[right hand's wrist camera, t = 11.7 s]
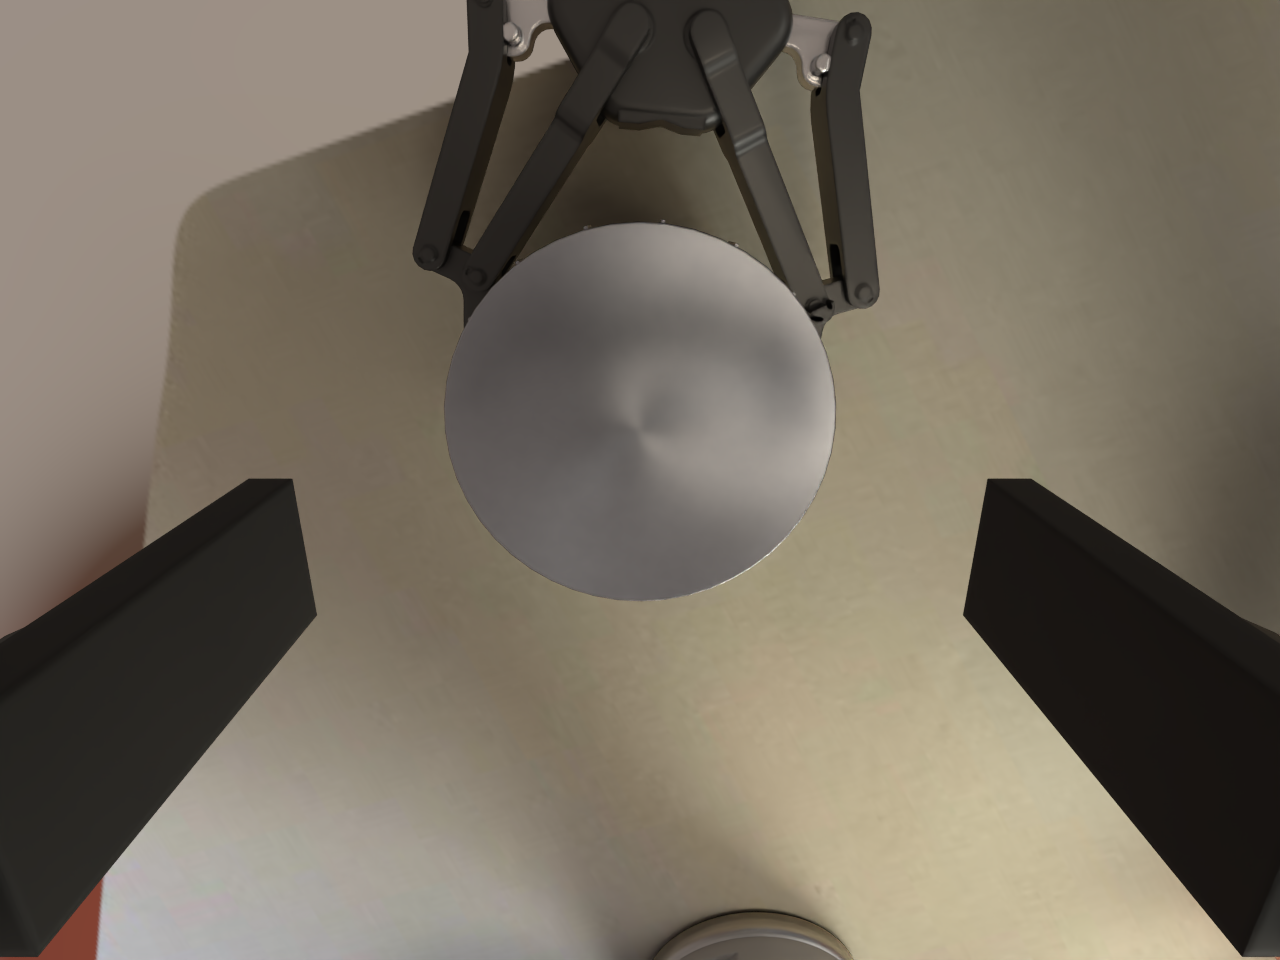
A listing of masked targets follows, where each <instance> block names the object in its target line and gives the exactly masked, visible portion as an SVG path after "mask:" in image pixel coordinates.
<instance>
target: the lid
mask: <svg viewBox="0 0 1280 960" xmlns="http://www.w3.org/2000/svg"><path fill="white" fill-rule="evenodd" d="M583 228H584V230H582V231H579V232H576V233H574V234H571V235H568V236H566V237H563V238H560V239H558V240H556V241H554V242H552V243H550V244H548V245H546V246H544V247H543V248H541V249H539V250H537V251H535V252H533V253H532V254H530V255H529V256H528V257H526V258H524V259H521V260H518V261H516V262H515V264H516V266H514V267H513V268H511V269H510V270H509V271H508V272H507V273H506V274H505V275H504V276H503V277H502V278H501V279H500V280H499V281H498V282H497V283H496V284H495V285H494V286H493V287H492V288H491V289H490V290H489V292H488V293H487V294H486V296H485V297H484V298H483V300H482V301H481V302H480V303H479V305H478V306H477V307H476V309H475V310H474V312H473V314H472V316H470V317H469V318H468V323H467V324H466V326H465V328H464V330H463V331H462V334H461V336H460V339H459V341H458V344H457V346H456V349H455V352H454V354H453V357H452V361H451V365H450V369H449V374H448V378H447V383H446V393H445V403H444V413H445V433H446V438H447V444H448V450H449V455H450V458H451V462H452V465H453V468H454V471H455V474H456V477H457V480H458V482H459V484H460V486H461V488H462V491H463V493H464V495H465V497H466V499H467V501H468V503H469V504H470V506H471V507H472V509H473V510H474V512H475V514H476V515H477V517H478V518H479V520H480V521H481V523H482V524H483V525H484V526H485V527H486V529H487V530H488V531H489V532H490V533H491V535H492V536H493V537H494V538H495V539H496V540H497V541H498V542H499V543H500V544H501V545H502V546H503V547H504V548H505V549H506V550H507V551H508V552H509V553H510V554H512V555H513V556H514V557H515V558H517V559H518V560H519V561H521V562H522V563H524V564H525V565H526V566H528V567H529V568H530V569H532V570H534V571H535V572H537V573H539V574H541V575H542V576H544V577H546V578H548V579H549V580H551V581H554V582H556V583H558V584H561V585H563V586H565V587H568V588H570V589H573V590H576V591H579V592H583V593H586V594H590V595H593V596H598V597H604V598H609V599H615V600H629V601H652V600H666V599H671V598H677V597H682V596H688V595H691V594H694V593H698V592H701V591H704V590H707V589H710V588H713V587H715V586H717V585H720V584H722V583H724V582H726V581H729V580H731V579H733V578H735V577H736V576H738V575H740V574H741V573H743V572H745V571H746V570H748V569H750V568H752V567H753V566H754V565H756V564H757V563H758V562H759V561H761V560H762V559H763V558H765V557H766V556H767V555H769V554H770V553H771V552H772V551H773V550H774V549H775V548H776V547H777V546H778V545H779V544H780V543H781V542H782V541H783V540H784V539H785V538H787V536H788V535H789V534H790V533H791V531H792V530H793V529H794V528H795V526H796V525H797V524H798V523H799V521H800V520H801V519H802V518H803V516H804V514H805V513H806V511H807V509H808V508H809V506H810V504H811V503H812V501H813V500H814V498H815V496H816V494H817V491H818V489H819V487H820V485H821V482H822V480H823V478H824V476H825V472H826V469H827V466H828V462H829V459H830V456H831V452H832V446H833V440H834V434H835V423H836V399H835V390H834V381H833V376H832V372H831V368H830V364H829V360H828V356H827V353H826V350H825V348H824V345H823V343H822V341H821V338H820V336H819V333H818V331H817V329H816V327H815V325H814V324H813V322H812V320H811V319H810V317H809V315H808V313H807V312H806V310H805V308H804V307H803V305H802V304H801V303H800V302H799V300H798V299H797V298H796V297H795V295H796V293H795V292H794V291H792V290H790V289H789V288H788V286H787V285H786V284H785V283H784V282H782V281H781V280H780V279H779V278H778V277H777V276H776V275H775V274H774V273H773V272H772V271H771V270H770V269H769V268H768V267H766V266H765V265H764V264H762V263H761V262H759V261H758V260H757V259H755V258H754V257H752V256H751V255H750V254H748V253H747V252H745V251H744V250H742V249H740V248H738V246H739V244H737V243H734V242H730V241H728V242H726V241H724V240H723V239H721V238H718V237H715V236H712V235H709V234H707V233H704V232H701V231H698V230H695V229H691V228H686V227H681V226H676V225H672V224H667V223H665V220H660V221H659V223H654V222H626V223H614V224H608V225H604V226H599V227H594V228H592V227H591V225H588V226H584V227H583Z"/></svg>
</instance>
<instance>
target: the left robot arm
mask: <svg viewBox="0 0 1280 960" xmlns="http://www.w3.org/2000/svg"><path fill="white" fill-rule="evenodd" d="M467 20H468V46H469V53H468V56H467V60H466V63H465V67H464V70H463V74H462V77H461V81H460V84H459V88H458V91H457V95H456V99H455V102H454V106H453V109H452V113H451V116H450V120H449V123H448V127H447V130H446V134H445V137H444V141H443V144H442V148H441V151H440V155H439V158H438V162H437V165H436V169H435V172H434V176H433V179H432V183H431V186H430V190H429V194H428V197H427V201H426V204H425V208H424V211H423V215H422V218H421V222H420V225H419V229H418V232H417V236H416V239H415V243H414V246H413V257H414V261H415V262H416V263H417V265H418V266H419V267H421V268H422V269H424V270H429V271H434V272H436V273H438V274H440V275H442V276H445V277H447V278H449V279H451V280H452V281H454V282H455V283H456V284H457V285H458V286H459V287H460V289H461V290H462V293H463V298H464V328H465V326H466V324H467V323H468V318H469V317H470V316H472V314H473V312H474V310H475V309H476V307H477V306H478V305H479V303H480V302H481V301H482V300H483V298H484V297H485V296H486V294H487V293H488V292H489V290H490V289H491V288H492V287H493V286H494V285H495V284H496V283H497V282H498V281H499V280H500V279H501V278H502V277H503V276H504V275H505V274H506V273H507V272H508V271H509V269H510V268H511V266H512V265H513V263H514V261H515V260H516V258H517V257H518V255H519V254H520V252H521V250H522V249H523V247H524V246H525V244H526V243H527V241H528V239H529V238H530V236H531V235H532V233H533V232H534V230H535V228H536V227H537V225H538V224H539V222H540V221H541V219H542V217H543V216H544V214H545V213H546V211H547V210H548V208H549V206H550V205H551V203H552V202H553V200H554V199H555V197H556V195H557V194H558V192H559V191H560V189H561V188H562V186H563V184H564V183H565V181H566V180H567V178H568V177H569V175H570V173H571V172H572V170H573V169H574V167H575V166H576V164H577V162H578V161H579V159H580V158H581V156H582V155H583V153H584V151H585V150H586V148H587V147H588V146H589V145H590V144H591V142H592V141H593V140H594V138H595V137H596V135H597V134H598V132H599V131H600V129H601V127H602V126H603V124H604V123H605V121H606V120H609V121H610V122H612V123H613V124H616V125H618V126H619V129H630V130H644V129H649V128H654V127H663V128H666V129H668V130H671V131H673V132H676V133H678V134H682V135H693V136H700V135H701V134H702V133H707V132H709V131H712V130H714V133H715V135H716V138H717V140H718V142H719V145H720V147H721V150H722V152H723V154H724V156H725V157H726V159H727V160H728V162H729V165H730V167H731V169H732V172H733V174H734V177H735V179H736V182H737V184H738V187H739V189H740V191H741V194H742V196H743V199H744V201H745V204H746V206H747V208H748V211H749V213H750V216H751V218H752V221H753V223H754V226H755V228H756V230H757V233H758V235H759V238H760V240H761V243H762V245H763V247H764V250H765V252H766V255H767V257H768V260H769V262H770V265H771V267H772V269H773V272H774V274H775V275H776V276H777V277H778V278H779V279H780V280H781V281H782V282H784V283H785V284H786V285H787V286H788V288H789V289H790V290H792V291H794V292H795V293H796V295H795V297H796V298H797V299H798V300H799V302H800V303H801V304H802V305H803V307H804V308H805V310H806V312H807V313H808V315H809V317H810V319H811V320H812V322H813V324H814V325H815V327H816V329H817V331H818V333H819V336H820V338H821V336H822V331H823V327H824V325H825V323H826V322H827V321H829V320H830V319H831V317H832V316H834V315H836V314H838V313H842V312H845V311H849V310H853V309H857V308H859V309H866V308H868V307H870V306H872V305H873V304H874V303H875V302H876V301H877V299H878V297H879V291H880V288H879V278H878V268H877V258H876V248H875V238H874V229H873V219H872V209H871V199H870V189H869V179H868V169H867V159H866V149H865V139H864V129H863V119H862V109H861V100H860V86H861V81H862V77H863V72H864V67H865V63H866V58H867V53H868V48H869V44H870V39H871V30H872V27H871V24H870V21H869V19H868V18H867V17H866V16H865V15H864V14H861V13H859V12H854V13H850V14H848V15H846V16H844V17H843V18H842V19H841V20H840V21H834V20H828V19H821V18H815V17H808V16H802V15H795V14H792V9H791V6H790V3H789V0H467ZM547 29H554V31H555V33H556V35H557V37H558V39H559V41H560V42H561V44H562V46H563V48H564V50H565V52H566V53H567V55H568V57H569V59H570V61H571V62H572V64H573V66H574V68H575V70H576V71H577V73H578V76H577V78H576V79H575V81H574V82H573V84H572V86H571V87H570V89H569V91H568V92H567V94H566V96H565V97H564V99H563V100H562V102H561V104H560V106H559V107H558V110H557V112H556V114H555V117H554V119H553V121H552V123H551V125H550V126H549V128H548V130H547V131H546V133H545V134H544V136H543V138H542V139H541V141H540V143H539V144H538V146H537V147H536V149H535V151H534V152H533V154H532V156H531V157H530V159H529V160H528V162H527V164H526V165H525V167H524V169H523V170H522V172H521V173H520V175H519V177H518V178H517V180H516V182H515V183H514V185H513V187H512V188H511V190H510V191H509V193H508V195H507V196H506V198H505V200H504V201H503V203H502V204H501V206H500V208H499V209H498V211H497V213H496V214H495V216H494V217H493V219H492V221H491V222H490V224H489V226H488V227H487V229H486V230H485V232H484V234H483V235H482V237H481V239H480V240H479V242H478V244H477V245H476V247H475V248H474V250H473V249H470V248H468V247H466V246H464V245H463V244H464V241H465V238H466V234H467V231H468V228H469V225H470V221H471V218H472V215H473V212H474V208H475V205H476V202H477V199H478V195H479V192H480V189H481V186H482V182H483V179H484V176H485V173H486V169H487V166H488V163H489V160H490V156H491V153H492V150H493V147H494V143H495V140H496V137H497V134H498V130H499V127H500V124H501V120H502V117H503V114H504V111H505V107H506V104H507V101H508V98H509V94H510V91H511V87H512V82H513V77H514V69H515V62H519V61H524V60H526V59H527V58H528V57H529V56H530V55H531V53H532V51H533V48H534V43H535V40H536V38H537V36H538V35H539V34H540V33H541V32H542V31H544V30H547ZM781 52H784V53H787V54H789V55H790V56H791V57H792V58H793V59H794V61H795V63H796V66H797V78H798V81H799V83H800V85H801V86H802V87H803V88H805V89H807V90H811V91H812V92H811V109H810V110H811V124H812V132H813V140H814V148H815V156H816V164H817V173H818V181H819V189H820V197H821V205H822V213H823V221H824V229H825V237H826V246H827V254H828V262H829V270H830V278H829V279H825V280H822V279H821V277H820V274H819V272H818V269H817V267H816V264H815V262H814V259H813V256H812V254H811V251H810V249H809V246H808V244H807V241H806V238H805V236H804V233H803V231H802V228H801V226H800V223H799V220H798V218H797V215H796V213H795V210H794V208H793V205H792V202H791V200H790V197H789V195H788V192H787V190H786V187H785V184H784V182H783V179H782V177H781V174H780V172H779V169H778V166H777V164H776V161H775V159H774V156H773V154H772V151H771V149H770V146H769V143H768V140H767V135H766V129H765V126H764V123H763V120H762V118H761V115H760V112H759V110H758V107H757V105H756V102H755V100H754V97H753V94H752V92H751V89H752V88H753V86H754V85H755V84H756V83H757V81H758V80H759V79H760V78H761V76H762V75H763V74H764V73H765V72H766V70H767V69H768V68H769V67H770V65H771V64H772V63H773V62H774V60H775V59H776V58H777V57H778V56H779V54H780V53H781Z"/></svg>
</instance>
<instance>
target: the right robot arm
mask: <svg viewBox="0 0 1280 960" xmlns="http://www.w3.org/2000/svg"><path fill="white" fill-rule="evenodd" d="M316 616H317V613H316V607H315V602H314V596H313V591H312V585H311V579H310V574H309V568H308V563H307V557H306V552H305V546H304V541H303V535H302V530H301V524H300V519H299V513H298V507H297V502H296V496H295V491H294V485H293V480H292V479H248V480H246V481H245V482H243V483H242V484H240V485H239V486H237V487H236V488H234V489H233V490H231V491H230V492H228V493H227V494H225V495H224V496H222V497H221V498H219V499H218V500H216V501H214V502H213V503H211V504H210V505H208V506H207V507H205V508H204V509H202V510H201V511H199V512H198V513H196V514H195V515H193V516H192V517H190V518H189V519H187V520H186V521H184V522H183V523H181V524H180V525H178V526H177V527H175V528H174V529H172V530H171V531H169V532H168V533H166V534H165V535H163V536H162V537H160V538H159V539H157V540H156V541H154V542H153V543H151V544H150V545H148V546H147V547H145V548H144V549H142V550H141V551H139V552H138V553H136V554H134V555H133V556H131V557H130V558H128V559H127V560H125V561H124V562H122V563H121V564H119V565H118V566H116V567H115V568H113V569H112V570H110V571H109V572H107V573H106V574H104V575H103V576H101V577H100V578H98V579H97V580H95V581H94V582H92V583H91V584H89V585H88V586H86V587H85V588H83V589H82V590H80V591H79V592H77V593H76V594H74V595H73V596H71V597H70V598H68V599H67V600H65V601H64V602H62V603H61V604H59V605H58V606H56V607H55V608H53V609H51V610H50V611H49V612H47V613H45V614H44V615H42V616H41V617H39V618H38V619H36V620H35V621H33V622H32V623H30V624H29V625H27V626H26V627H24V628H22V629H20V630H17V631H15V632H13V633H11V634H8V635H6V636H4V637H3V638H1V639H0V957H38V956H39V955H40V954H41V952H42V951H43V950H44V949H45V947H46V946H47V945H48V944H49V943H50V941H51V940H52V939H53V938H54V936H55V935H56V934H57V933H58V932H59V930H60V929H61V928H62V927H63V925H64V924H65V923H66V922H67V920H68V919H69V918H70V917H71V916H72V914H73V913H74V912H75V911H76V909H77V908H78V907H79V906H80V904H81V903H82V902H83V901H84V900H85V898H86V897H87V896H88V895H89V894H90V892H91V891H92V890H93V889H94V887H95V886H96V885H97V884H98V882H99V881H100V880H101V879H102V878H103V876H104V875H105V874H106V873H107V872H108V870H109V869H110V868H111V867H112V865H113V864H114V863H115V862H116V860H117V859H118V858H119V857H120V856H121V854H122V853H123V852H124V851H125V849H126V848H127V847H128V846H129V845H130V843H131V842H132V841H133V840H134V838H135V837H136V836H137V835H138V834H139V832H140V831H141V830H142V829H143V827H144V826H145V825H146V824H147V823H148V821H149V820H150V819H151V818H152V816H153V815H154V814H155V813H156V812H157V810H158V809H159V808H160V807H161V805H162V804H163V803H164V802H165V801H166V799H167V798H168V797H169V796H170V794H171V793H172V792H173V791H174V789H175V788H176V787H177V786H178V785H179V783H180V782H181V781H182V780H183V778H184V777H185V776H186V775H187V774H188V772H189V771H190V770H191V769H192V767H193V766H194V765H195V764H196V763H197V761H198V760H199V759H200V758H201V756H202V755H203V754H204V753H205V752H206V750H207V749H208V748H209V747H210V745H211V744H212V743H213V742H214V741H215V739H216V738H217V737H218V736H219V734H220V733H221V732H222V731H223V730H224V728H225V727H226V726H227V725H228V723H229V722H230V721H231V720H232V718H233V717H234V716H235V715H236V714H237V712H238V711H239V710H240V709H241V707H242V706H243V705H244V704H245V703H246V701H247V700H248V699H249V698H250V696H251V695H252V694H253V693H254V692H255V690H256V689H257V688H258V687H259V685H260V684H261V683H262V682H263V681H264V679H265V678H266V677H267V676H268V674H269V673H270V672H271V671H272V670H273V668H274V667H275V666H276V665H277V663H278V662H279V661H280V660H281V659H282V657H283V656H284V655H285V654H286V652H287V651H288V650H289V649H290V647H291V646H292V645H293V644H294V643H295V641H296V640H297V639H298V638H299V636H300V635H301V634H302V633H303V632H304V630H305V629H306V628H307V627H308V625H309V624H310V623H311V622H312V621H313V619H314V618H315V617H316ZM963 616H964V617H965V618H966V619H967V621H968V622H969V623H970V624H971V625H972V627H973V628H974V629H975V630H976V632H977V633H978V634H979V635H980V636H981V638H982V639H983V640H984V641H985V643H986V644H987V645H988V646H989V647H990V649H991V650H992V651H993V652H994V654H995V655H996V656H997V657H998V659H999V660H1000V661H1001V662H1002V663H1003V665H1004V666H1005V667H1006V668H1007V670H1008V671H1009V672H1010V673H1011V674H1012V676H1013V677H1014V678H1015V679H1016V681H1017V682H1018V683H1019V684H1020V685H1021V687H1022V688H1023V689H1024V690H1025V692H1026V693H1027V694H1028V695H1029V696H1030V698H1031V699H1032V700H1033V701H1034V703H1035V704H1036V705H1037V706H1038V707H1039V709H1040V710H1041V711H1042V712H1043V714H1044V715H1045V716H1046V717H1047V718H1048V720H1049V721H1050V722H1051V723H1052V725H1053V726H1054V727H1055V728H1056V730H1057V731H1058V732H1059V733H1060V734H1061V736H1062V737H1063V738H1064V739H1065V741H1066V742H1067V743H1068V744H1069V745H1070V747H1071V748H1072V749H1073V750H1074V752H1075V753H1076V754H1077V755H1078V756H1079V758H1080V759H1081V760H1082V761H1083V763H1084V764H1085V765H1086V766H1087V767H1088V769H1089V770H1090V771H1091V772H1092V774H1093V775H1094V776H1095V777H1096V778H1097V780H1098V781H1099V782H1100V783H1101V785H1102V786H1103V787H1104V788H1105V789H1106V791H1107V792H1108V793H1109V794H1110V796H1111V797H1112V798H1113V799H1114V801H1115V802H1116V803H1117V804H1118V805H1119V807H1120V808H1121V809H1122V810H1123V812H1124V813H1125V814H1126V815H1127V816H1128V818H1129V819H1130V820H1131V821H1132V823H1133V824H1134V825H1135V826H1136V827H1137V829H1138V830H1139V831H1140V832H1141V834H1142V835H1143V836H1144V837H1145V838H1146V840H1147V841H1148V842H1149V843H1150V845H1151V846H1152V847H1153V848H1154V849H1155V851H1156V852H1157V853H1158V854H1159V856H1160V857H1161V858H1162V859H1163V860H1164V862H1165V863H1166V864H1167V865H1168V867H1169V868H1170V869H1171V870H1172V872H1173V873H1174V874H1175V875H1176V876H1177V878H1178V879H1179V880H1180V881H1181V883H1182V884H1183V885H1184V886H1185V887H1186V889H1187V890H1188V891H1189V892H1190V894H1191V895H1192V896H1193V897H1194V898H1195V900H1196V901H1197V902H1198V903H1199V905H1200V906H1201V907H1202V908H1203V909H1204V911H1205V912H1206V913H1207V914H1208V916H1209V917H1210V918H1211V919H1212V920H1213V922H1214V923H1215V924H1216V925H1217V927H1218V928H1219V929H1220V930H1221V932H1222V933H1223V934H1224V935H1225V936H1226V938H1227V939H1228V940H1229V941H1230V943H1231V944H1232V945H1233V946H1234V947H1235V949H1236V950H1237V951H1238V952H1239V954H1240V955H1241V956H1242V957H1280V636H1279V635H1278V634H1276V633H1274V632H1272V631H1270V630H1267V629H1265V628H1263V627H1261V626H1258V625H1256V624H1254V623H1252V622H1249V621H1247V620H1245V619H1243V618H1241V617H1239V616H1238V615H1236V614H1235V613H1233V612H1232V611H1230V610H1229V609H1227V608H1226V607H1224V606H1223V605H1221V604H1219V603H1218V602H1216V601H1215V600H1213V599H1212V598H1210V597H1209V596H1207V595H1206V594H1204V593H1203V592H1201V591H1200V590H1198V589H1197V588H1195V587H1194V586H1192V585H1191V584H1189V583H1188V582H1186V581H1185V580H1183V579H1182V578H1180V577H1179V576H1177V575H1176V574H1174V573H1173V572H1171V571H1170V570H1168V569H1167V568H1165V567H1164V566H1162V565H1161V564H1159V563H1158V562H1156V561H1155V560H1153V559H1152V558H1150V557H1149V556H1147V555H1146V554H1144V553H1142V552H1141V551H1139V550H1138V549H1136V548H1135V547H1133V546H1132V545H1130V544H1129V543H1127V542H1126V541H1124V540H1123V539H1121V538H1120V537H1118V536H1117V535H1115V534H1114V533H1112V532H1111V531H1109V530H1108V529H1106V528H1105V527H1103V526H1102V525H1100V524H1099V523H1097V522H1096V521H1094V520H1093V519H1091V518H1090V517H1088V516H1087V515H1085V514H1084V513H1082V512H1081V511H1079V510H1078V509H1076V508H1075V507H1073V506H1072V505H1070V504H1069V503H1067V502H1066V501H1064V500H1062V499H1061V498H1059V497H1058V496H1056V495H1055V494H1053V493H1052V492H1050V491H1049V490H1047V489H1046V488H1044V487H1043V486H1041V485H1040V484H1038V483H1037V482H1035V481H1034V480H1032V479H988V480H987V485H986V491H985V496H984V502H983V507H982V513H981V518H980V524H979V530H978V535H977V541H976V546H975V552H974V557H973V563H972V568H971V574H970V579H969V585H968V591H967V596H966V602H965V607H964V613H963ZM653 960H853V958H852V956H851V954H850V953H849V951H848V950H847V949H846V947H845V946H844V945H843V944H842V943H841V942H840V941H839V940H838V939H837V938H836V937H834V936H833V935H832V934H831V933H829V932H828V931H826V930H824V929H823V928H821V927H819V926H817V925H815V924H813V923H810V922H808V921H806V920H803V919H799V918H796V917H792V916H788V915H783V914H776V913H765V912H749V913H738V914H730V915H726V916H721V917H717V918H714V919H710V920H707V921H704V922H702V923H699V924H697V925H695V926H693V927H691V928H689V929H687V930H685V931H683V932H682V933H680V934H679V935H677V936H676V937H674V938H673V939H672V940H670V941H669V942H668V943H667V944H666V945H665V946H664V947H663V948H662V949H661V950H660V951H659V952H658V954H657V955H656V956H655V957H654V959H653Z"/></svg>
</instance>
